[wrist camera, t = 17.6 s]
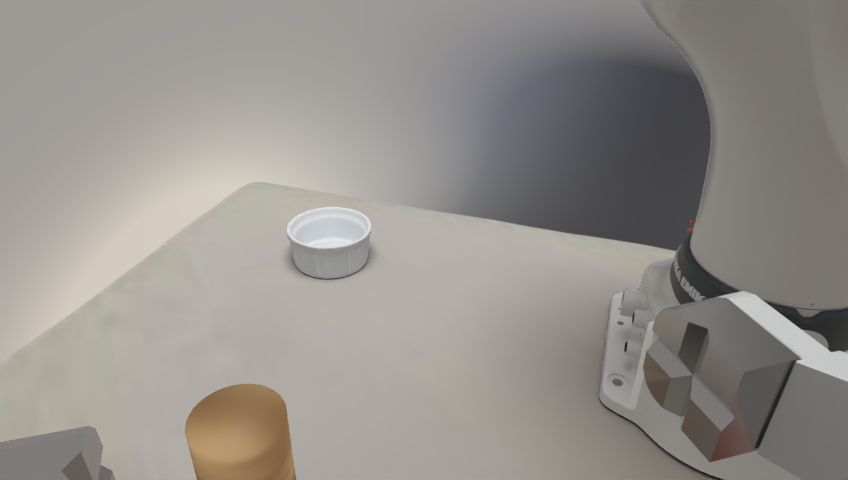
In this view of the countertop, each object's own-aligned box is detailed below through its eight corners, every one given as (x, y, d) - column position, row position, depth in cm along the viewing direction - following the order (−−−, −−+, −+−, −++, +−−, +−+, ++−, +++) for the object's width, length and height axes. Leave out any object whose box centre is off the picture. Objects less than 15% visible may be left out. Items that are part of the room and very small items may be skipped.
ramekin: (329, 231, 72) (327, 198, 70) (389, 255, 68) (388, 221, 66) (272, 264, 66) (268, 229, 64) (334, 293, 62) (331, 257, 59)
